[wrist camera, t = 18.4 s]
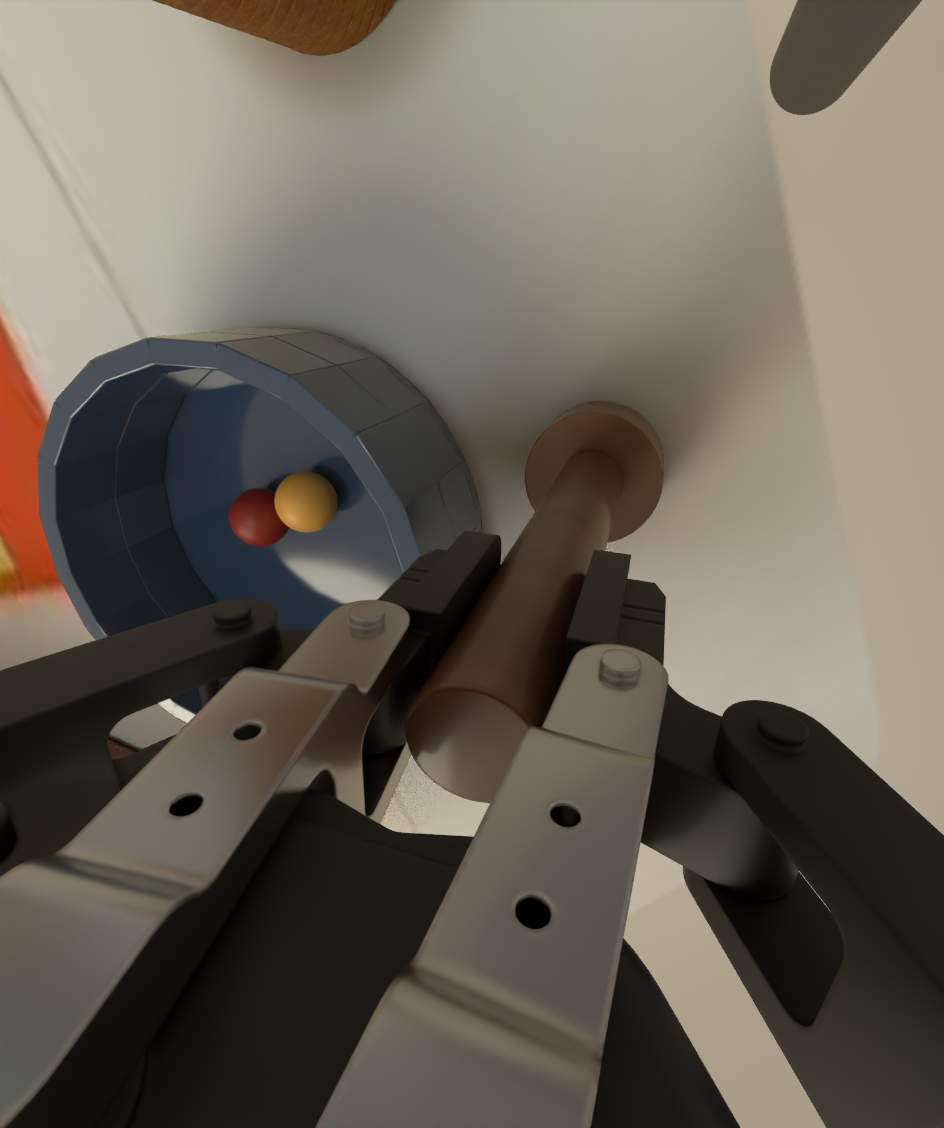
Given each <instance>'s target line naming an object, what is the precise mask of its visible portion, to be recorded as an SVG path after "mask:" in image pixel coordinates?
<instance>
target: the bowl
mask: <svg viewBox="0 0 944 1128" xmlns="http://www.w3.org/2000/svg"><path fill="white" fill-rule="evenodd" d="M37 462H38V497H39V514H40V515H39V516H40V520H41V523H42V526H43V530H44V533H45V537H46V540H47V544H48V547H49V550H50V554H51V557H52V561H53V564H54V567H55V571H56V573H57V576H58V577H59V579H60V581H61V583H62V585H63V587H64V589H65V590H66V592H67V594H68V596H69V598H70V600H71V601H72V603H73V605H74V607H75V609H76V611H77V612H78V614H79V616H80V618H81V620H82V622H83V624H84V625H85V627H86V628H87V630H88V631H89V633H90V634H91V635H92V636H93V637H94V639H95V640H99V639H102V638H105V637H109V636H112V635H115V634H118V633H121V632H125V631H128V630H131V629H134V628H137V627H140V626H144V625H147V624H150V623H153V622H156V621H159V620H163V619H166V618H169V617H172V616H175V615H178V614H182V613H185V612H188V611H191V610H194V609H197V608H201V607H204V606H207V605H210V604H213V603H217V602H220V601H225V600H230V599H241V598H249V599H258V600H262V601H265V602H268V603H270V604H272V605H273V606H274V607H275V608H276V610H277V614H278V622H279V629H316V627H317V626H318V625H319V624H320V623H321V622H322V621H323V620H324V618H325V617H326V616H327V615H328V614H329V613H330V612H331V611H332V610H334V609H336V608H337V607H339V606H341V605H344V604H347V603H351V602H355V601H361V600H378V598H379V597H380V596H381V595H382V594H383V593H384V592H385V591H386V590H387V589H388V588H389V587H390V586H391V585H392V584H393V583H394V582H395V581H396V580H397V579H399V578H400V576H401V575H402V574H403V573H404V572H405V571H406V570H408V567H409V566H410V565H411V564H412V563H413V562H414V561H415V560H416V559H417V558H418V557H419V556H422V555H424V554H426V553H428V552H431V551H433V550H435V549H443V550H448V548H449V547H450V546H451V545H452V544H453V543H454V542H455V541H456V539H457V538H458V537H459V536H460V535H461V534H462V533H463V532H464V531H465V530H466V531H473V532H480V533H482V522H481V516H480V509H479V503H478V498H477V494H476V491H475V487H474V484H473V480H472V477H471V473H470V471H469V469H468V466H467V464H466V462H465V459H464V457H463V455H462V452H461V450H460V448H459V446H458V444H457V443H456V441H455V439H454V437H453V436H452V434H451V432H450V431H449V429H448V427H447V425H446V424H445V422H444V421H443V420H442V418H441V417H440V416H439V414H438V413H437V412H436V410H435V409H434V408H433V406H432V405H431V404H430V402H429V401H428V400H427V399H426V398H425V397H424V396H423V395H422V394H421V393H420V392H419V391H418V390H417V389H416V388H415V387H414V386H413V385H412V383H411V382H410V381H408V380H407V379H406V378H405V377H403V376H402V375H401V374H400V373H399V372H397V371H396V370H395V369H394V368H392V367H391V366H390V365H389V364H387V363H386V362H384V361H383V360H381V359H379V358H378V357H376V356H375V355H373V354H371V353H370V352H368V351H367V350H365V349H363V348H361V347H358V346H356V345H354V344H352V343H350V342H347V341H345V340H343V339H341V338H337V337H334V336H330V335H327V334H324V333H320V332H317V331H310V330H302V329H295V328H278V329H275V328H259V327H256V328H245V329H233V330H222V331H211V332H201V333H190V334H179V335H168V336H157V337H149V338H145V339H142V340H139V341H137V342H134V343H132V344H129V345H126V346H124V347H121V348H119V349H116V350H113V351H111V352H108V353H106V354H103V355H100V356H98V357H95V358H94V359H93V360H91V361H90V362H89V363H88V364H87V365H86V366H85V367H84V368H83V369H82V371H81V372H80V373H79V374H78V375H77V376H76V377H75V379H74V380H73V381H72V382H71V383H70V384H69V385H68V386H67V388H66V389H65V390H64V391H63V392H62V393H61V394H60V395H59V397H58V398H57V399H56V401H55V402H54V404H53V407H52V410H51V414H50V417H49V420H48V423H47V427H46V430H45V433H44V436H43V439H42V443H41V446H40V449H39V452H38V456H37ZM302 471H309V472H314V473H317V474H319V475H321V476H323V477H324V478H326V479H327V480H328V481H329V482H330V483H331V484H332V486H333V487H334V489H335V491H336V494H337V500H338V506H337V511H336V514H335V516H334V518H333V519H332V521H331V522H330V523H329V524H328V525H327V526H326V527H324V528H322V529H321V530H318V531H315V532H299V531H296V530H293V529H291V528H290V527H289V530H288V531H287V533H286V535H285V536H284V537H283V538H282V539H281V540H280V541H278V542H277V543H275V544H272V545H269V546H264V547H257V546H252V545H249V544H247V543H245V542H243V541H242V540H240V539H239V538H238V537H237V536H236V535H235V533H234V532H233V530H232V528H231V526H230V522H229V511H230V507H231V505H232V503H233V501H234V500H235V499H236V498H237V497H238V496H239V495H240V494H241V493H243V492H245V491H247V490H250V489H254V488H264V489H269V490H271V491H274V492H276V490H277V488H278V486H279V485H280V483H281V482H282V481H283V480H284V479H285V478H286V477H288V476H289V475H291V474H294V473H297V472H302ZM158 704H159V705H160V706H161V707H163V708H164V709H165V710H166V711H167V712H169V713H170V714H171V715H173V716H175V717H177V718H178V719H180V720H182V721H184V722H186V723H188V722H189V721H190V720H191V719H192V718H193V717H194V716H195V715H196V714H197V713H198V712H199V711H200V710H201V709H202V708H203V706H202V701H201V696H200V691H199V687H197V688H195V689H192V690H190V691H187V692H185V693H182V694H180V695H177V696H175V697H172V698H170V699H167V700H165V701H162V702H160V703H158Z"/></svg>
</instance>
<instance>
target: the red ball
mask: <svg viewBox="0 0 944 1128" xmlns="http://www.w3.org/2000/svg"><path fill="white" fill-rule="evenodd" d="M275 494H276V492H274V491H271V490H269V489H264V488H254V489H250V490H247V491H245V492H243V493H241V494H240V495H239V496H238V497H237V498H236V499H235V500H234V501H233V503H232V505H231V507H230V511H229V522H230V526H231V528H232V530H233V532H234V533H235V535H236V536H237V537H238V538H239V539H240V540H242V541H243V542H245V543H247V544H249V545H252V546H257V547H264V546H269V545H272V544H275V543H277V542H278V541H280V540H281V539H282V538H283V537H284V536H285V535H286V533H287V531H288V530H289V527H288V526H287V525H285V524H284V523H283V522H282V520H281V519H280V518H279V516H278V514H277V512H276V508H275Z"/></svg>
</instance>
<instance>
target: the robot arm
mask: <svg viewBox="0 0 944 1128" xmlns="http://www.w3.org/2000/svg"><path fill="white" fill-rule="evenodd" d="M630 559H631V555H628V554H621V553H614V552H608V551H601V550H594V552H593V555H592V558H591V561H590V564H589V568H588V571H587V574H586V577H585V580H584V583H583V586H582V590H581V593H580V596H579V599H578V602H577V605H576V608H575V612H574V615H573V618H572V621H571V624H570V627H569V630H568V633H567V637H566V644H565V653H564V661H563V670H562V678H561V686H560V688H559V690H558V692H557V695H556V697H555V699H554V701H553V703H552V706H551V708H550V710H549V712H548V714H547V717H546V719H545V721H544V723H543V725H542V727H540V726H537V725H533V724H531V725H530V726H529V727H528V728H527V730H526V731H525V733H524V735H523V737H522V739H521V741H520V743H519V745H518V747H517V750H516V752H515V754H514V756H513V758H512V760H511V762H510V764H509V766H508V768H507V770H506V772H505V774H504V776H503V778H502V780H501V782H500V784H499V786H498V788H497V790H496V793H495V795H494V797H493V799H492V801H491V803H490V805H489V807H488V809H487V811H486V813H485V815H484V817H483V819H482V821H481V823H480V825H479V827H478V829H477V831H476V834H475V836H474V837H468V836H450V835H433V834H415V833H401V832H395V831H392V830H390V829H388V828H386V827H384V826H382V825H381V822H382V819H383V817H384V815H385V813H386V810H387V808H388V806H389V804H390V801H391V799H392V797H393V794H394V792H395V790H396V788H397V785H398V783H399V781H400V779H401V776H402V774H403V772H404V770H405V767H406V765H407V763H408V760H409V758H410V755H411V752H410V750H409V747H408V744H407V740H406V732H405V724H406V716H407V712H408V710H409V708H410V706H411V704H412V702H413V701H414V699H415V698H416V696H417V695H418V693H419V691H420V690H421V688H422V687H423V685H424V684H425V682H426V681H427V679H428V677H429V676H430V674H431V673H432V671H433V670H434V668H435V667H436V665H437V663H438V662H439V660H440V659H441V657H442V656H443V654H444V653H445V651H446V649H447V648H448V646H449V645H450V643H451V642H452V640H453V639H454V637H455V635H456V634H457V632H458V631H459V629H460V628H461V626H462V625H463V623H464V621H465V620H466V618H467V617H468V615H469V614H470V612H471V610H472V609H473V607H474V606H475V604H476V603H477V601H478V600H479V598H480V596H481V595H482V593H483V592H484V590H485V589H486V587H487V586H488V584H489V582H490V581H491V579H492V578H493V576H494V575H495V573H496V572H497V570H498V568H499V567H500V561H501V538H500V536H499V535H493V534H486V533H480V532H473V531H466V530H465V531H464V532H463V533H462V534H461V535H460V536H459V537H458V538H457V539H456V541H455V542H454V543H453V544H452V545H451V546H450V547H449V548H448V550H443V549H435V550H433V551H431V552H428V553H426V554H424V555H422V556H419V557H418V558H417V559H416V560H415V561H414V562H413V563H412V564H411V565H410V566H409V567H408V570H406V571H405V572H404V573H403V574H402V575H401V576H400V578H399V579H397V580H396V581H395V582H394V583H393V584H392V585H391V586H390V587H389V588H388V589H387V590H386V591H385V592H384V593H383V594H382V595H381V596H380V597H379V598H378V600H361V601H355V602H351V603H347V604H344V605H341V606H339V607H337V608H336V609H334V610H332V611H331V612H330V613H329V614H328V615H327V616H326V617H325V618H324V620H323V621H322V622H321V623H320V624H319V625H318V626H317V627H316V629H279V622H278V614H277V610H276V608H275V607H274V606H273V605H272V604H270V603H268V602H265V601H262V600H258V599H249V598H241V599H230V600H225V601H220V602H217V603H213V604H210V605H207V606H204V607H201V608H197V609H194V610H191V611H188V612H185V613H182V614H178V615H175V616H172V617H169V618H166V619H163V620H159V621H156V622H153V623H150V624H147V625H144V626H140V627H137V628H134V629H131V630H128V631H125V632H121V633H118V634H115V635H112V636H109V637H105V638H102V639H99V640H96V641H93V642H90V643H86V644H83V645H80V646H77V647H74V648H71V649H67V650H64V651H61V652H58V653H55V654H52V655H48V656H45V657H42V658H39V659H36V660H32V661H29V662H26V663H23V664H20V665H17V666H13V667H10V668H7V669H4V670H1V671H0V1128H740V1126H739V1124H738V1123H737V1121H736V1119H735V1118H734V1116H733V1114H732V1113H731V1111H730V1109H729V1107H728V1106H727V1104H726V1102H725V1100H724V1098H723V1097H722V1095H721V1093H720V1092H719V1090H718V1088H717V1086H716V1085H715V1083H714V1081H713V1079H712V1078H711V1076H710V1074H709V1073H708V1071H707V1069H706V1067H705V1066H704V1064H703V1062H702V1060H701V1059H700V1057H699V1055H698V1053H697V1052H696V1050H695V1048H694V1047H693V1045H692V1043H691V1041H690V1040H689V1038H688V1036H687V1034H686V1033H685V1031H684V1029H683V1028H682V1026H681V1024H680V1023H679V1021H678V1019H677V1017H676V1015H675V1014H674V1012H673V1010H672V1008H671V1007H670V1005H669V1003H668V1002H667V1000H666V998H665V996H664V995H663V993H662V991H661V989H660V988H659V986H658V985H657V983H656V981H655V980H654V978H653V976H652V975H651V974H650V972H649V970H648V969H647V968H646V966H645V965H644V963H643V962H642V961H641V959H640V958H639V957H638V955H637V954H636V953H635V951H634V950H633V949H632V947H631V946H630V945H629V944H628V943H627V942H626V941H625V940H624V938H623V936H624V931H625V925H626V920H627V914H628V909H629V903H630V897H631V892H632V886H633V881H634V875H635V870H636V864H637V859H638V853H639V847H640V842H641V843H643V844H645V845H647V846H648V847H650V848H652V849H654V850H656V851H657V852H659V853H661V854H663V855H665V856H666V857H668V858H670V859H672V860H673V861H675V862H677V863H679V864H681V865H682V866H683V874H684V879H685V882H686V885H687V887H688V889H689V891H690V892H691V894H692V896H693V898H694V899H695V901H696V903H697V905H698V906H699V908H700V910H701V912H702V913H703V915H704V917H705V919H706V920H707V922H708V924H709V925H710V927H711V929H712V930H713V932H714V934H715V936H716V937H717V939H718V941H719V943H720V945H721V946H722V948H723V950H724V951H725V953H726V955H727V957H728V958H729V960H730V961H731V964H732V965H733V967H734V969H735V970H736V972H737V974H738V976H739V977H740V979H741V981H742V983H743V984H744V986H745V988H746V989H747V991H748V993H749V994H750V996H751V998H752V999H753V1001H754V1003H755V1005H756V1007H757V1008H758V1010H759V1012H760V1014H761V1015H762V1017H763V1019H764V1020H765V1022H766V1024H767V1026H768V1028H769V1029H770V1031H771V1033H772V1034H773V1036H774V1038H775V1040H776V1041H777V1043H778V1045H779V1046H780V1048H781V1050H782V1052H783V1053H784V1055H785V1057H786V1059H787V1060H788V1062H789V1064H790V1066H791V1067H792V1069H793V1071H794V1072H795V1074H796V1076H797V1078H798V1079H799V1081H800V1083H801V1084H802V1086H803V1088H804V1090H805V1091H806V1093H807V1095H808V1097H809V1098H810V1100H811V1102H812V1103H813V1105H814V1107H815V1109H816V1111H817V1112H818V1114H819V1116H820V1117H821V1119H822V1121H823V1122H824V1124H825V1126H826V1128H944V835H943V834H942V833H940V832H939V831H938V830H937V829H936V828H935V827H934V826H933V825H932V824H931V823H930V822H928V821H927V820H926V819H925V818H924V817H923V816H922V815H921V814H920V813H918V811H916V810H915V809H914V808H913V807H912V806H911V805H910V804H909V803H907V801H906V800H904V799H903V798H902V797H901V796H900V795H899V794H898V793H897V792H896V791H895V790H894V789H892V788H891V787H890V786H889V785H888V784H887V783H886V782H885V781H884V780H883V779H881V778H880V777H879V776H878V775H877V774H876V773H875V772H874V771H873V770H872V769H871V768H869V767H868V766H867V765H866V764H865V763H864V762H863V761H862V760H861V759H860V758H859V757H857V756H856V755H855V754H854V753H853V752H852V751H851V750H850V749H849V748H848V747H847V746H845V745H844V744H843V743H842V742H841V741H840V740H839V739H838V738H837V737H836V736H835V735H833V734H832V733H831V732H830V731H829V730H828V729H827V728H826V727H824V726H823V725H822V724H821V723H819V722H818V721H816V720H815V719H813V718H812V717H810V716H808V715H806V714H805V713H803V712H801V711H798V710H796V709H794V708H791V707H788V706H785V705H782V704H778V703H774V702H768V701H759V700H750V701H742V702H738V703H735V704H733V705H731V706H730V707H728V708H727V709H726V711H725V712H724V714H723V716H722V717H721V716H719V715H716V714H714V713H711V712H709V711H707V710H704V709H702V708H700V707H698V706H695V705H694V704H692V703H690V702H688V701H687V700H685V699H684V698H682V697H681V696H680V695H678V694H677V693H676V692H675V691H674V690H673V689H672V688H671V687H670V685H669V684H668V674H667V671H666V670H665V668H664V666H663V661H664V633H665V626H664V625H665V605H666V597H665V595H664V594H663V593H662V591H661V590H660V589H659V588H658V586H657V585H656V584H655V583H651V582H645V581H639V580H632V579H627V578H628V571H629V565H630ZM197 687H199V691H200V696H201V701H202V706H203V708H202V709H201V710H200V711H199V712H198V713H197V714H196V715H195V716H194V717H193V718H192V719H191V720H190V721H189V722H188V723H187V724H186V725H185V726H184V727H183V728H182V729H181V730H180V731H179V732H178V733H177V734H176V735H174V736H171V737H169V738H167V739H164V740H162V741H160V742H158V743H155V744H153V745H151V746H148V747H146V748H144V749H142V750H139V751H137V752H135V753H132V754H130V755H128V756H126V757H123V758H120V759H111V756H110V752H109V749H108V744H107V741H108V736H109V733H110V731H111V730H112V728H113V727H114V726H115V725H116V724H117V723H118V722H119V721H120V720H121V719H123V718H124V717H126V716H128V715H130V714H132V713H135V712H137V711H140V710H142V709H145V708H147V707H150V706H152V705H155V704H157V703H160V702H162V701H165V700H167V699H170V698H172V697H175V696H177V695H180V694H182V693H185V692H187V691H190V690H192V689H195V688H197ZM799 871H800V872H801V873H802V875H803V876H804V877H805V879H806V880H807V881H808V882H809V884H810V885H811V886H812V888H813V889H814V890H815V891H816V893H817V894H818V895H819V896H820V898H821V899H822V900H823V902H824V903H825V904H826V906H827V907H828V908H829V910H830V911H831V912H830V911H829V910H828V908H827V907H826V906H825V905H824V903H823V902H822V901H821V899H820V898H819V897H818V895H817V894H816V893H815V892H814V890H813V889H812V888H811V886H810V885H809V884H808V883H807V881H806V880H805V879H804V878H803V876H802V875H801V874H800V872H799Z"/></svg>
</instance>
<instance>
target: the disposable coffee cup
mask: <svg viewBox="0 0 944 1128" xmlns="http://www.w3.org/2000/svg"><path fill="white" fill-rule="evenodd" d="M153 1H156V2H159V3H162V4H165V5H168V6H171V7H173V8H176V9H179V10H182V11H185V12H187V13H190V14H193V15H196V16H199V17H202V18H205V19H207V20H210V21H213V22H216V23H220V24H222V25H224V26H227V27H231V28H234V29H237V30H239V31H242V32H245V33H249V34H251V35H254V36H257V37H260V38H263V39H265V40H268V41H271V42H274V43H277V44H279V45H282V46H285V47H288V48H290V49H293V50H295V51H298V52H301V53H303V54H309V55H319V56H324V55H329V54H335V53H340V52H342V51H344V50H346V49H348V48H350V47H353V46H355V45H357V44H358V43H359V42H360V41H362V40H363V39H364V38H365V37H367V36H368V35H369V34H370V33H372V32H373V31H374V29H375V28H376V27H377V25H378V24H379V23H380V21H381V20H382V19H383V18H384V16H385V15H386V14H387V12H388V11H389V10H390V8H391V6H392V4H393V3H394V1H395V0H153Z"/></svg>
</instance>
